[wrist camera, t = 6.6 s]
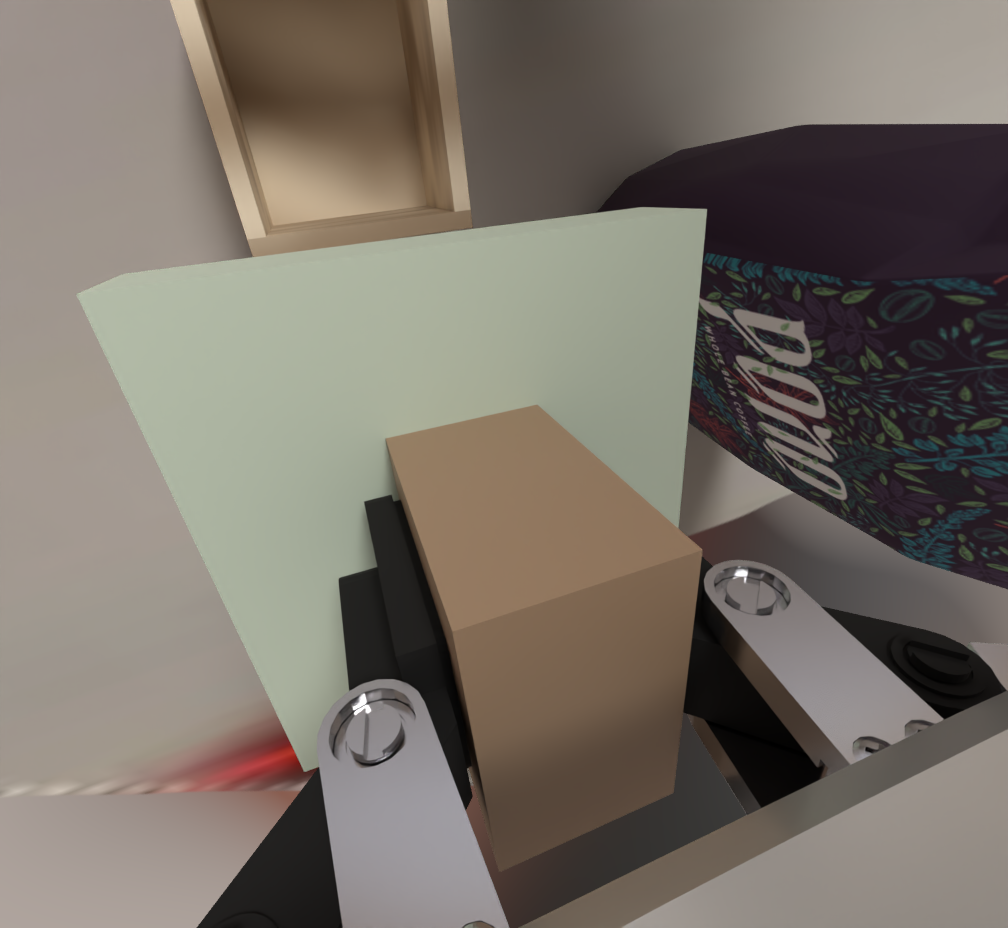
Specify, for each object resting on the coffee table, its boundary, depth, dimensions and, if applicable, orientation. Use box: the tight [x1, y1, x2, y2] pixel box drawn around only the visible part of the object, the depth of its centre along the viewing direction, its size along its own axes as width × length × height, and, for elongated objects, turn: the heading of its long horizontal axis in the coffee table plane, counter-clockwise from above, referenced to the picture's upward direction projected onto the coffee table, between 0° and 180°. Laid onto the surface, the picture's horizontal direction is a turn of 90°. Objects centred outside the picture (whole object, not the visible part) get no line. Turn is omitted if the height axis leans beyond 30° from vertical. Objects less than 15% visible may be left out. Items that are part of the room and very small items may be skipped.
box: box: [170, 0, 473, 257], centre depth 21 cm, size 10×9×6 cm
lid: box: [76, 207, 707, 872], centre depth 10 cm, size 11×10×7 cm
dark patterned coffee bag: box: [597, 124, 1008, 589], centre depth 23 cm, size 8×16×28 cm, turn 34°
